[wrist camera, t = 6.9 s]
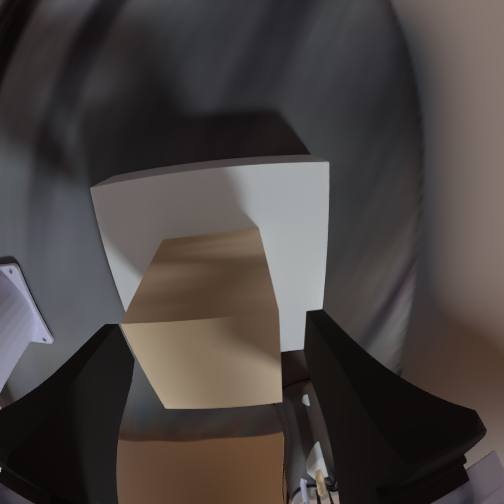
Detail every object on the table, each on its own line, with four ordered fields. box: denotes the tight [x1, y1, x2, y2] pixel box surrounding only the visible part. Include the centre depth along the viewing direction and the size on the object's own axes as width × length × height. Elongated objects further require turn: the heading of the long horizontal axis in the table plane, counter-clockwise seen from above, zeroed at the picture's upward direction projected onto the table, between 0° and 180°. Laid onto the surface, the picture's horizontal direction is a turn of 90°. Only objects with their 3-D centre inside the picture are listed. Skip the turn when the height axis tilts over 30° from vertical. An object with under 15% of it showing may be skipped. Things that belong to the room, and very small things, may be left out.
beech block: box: [121, 228, 282, 409], centre depth 11 cm, size 4×4×6 cm
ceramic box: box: [90, 155, 329, 352], centre depth 15 cm, size 11×11×4 cm
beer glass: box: [274, 379, 339, 504], centre depth 17 cm, size 7×7×15 cm
